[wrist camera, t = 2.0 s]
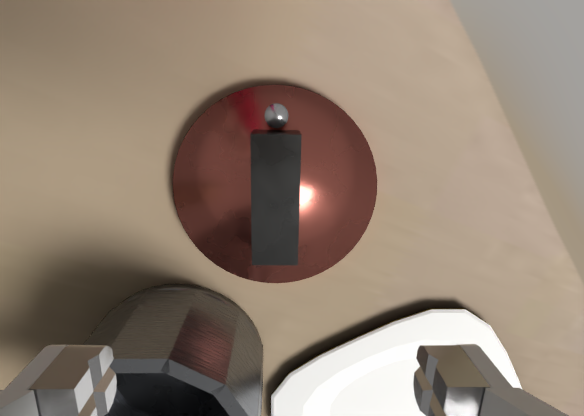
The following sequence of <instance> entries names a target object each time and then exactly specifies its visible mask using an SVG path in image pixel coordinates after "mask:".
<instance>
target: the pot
mask: <svg viewBox="0 0 584 416" xmlns="http://www.w3.org/2000/svg"><path fill="white" fill-rule="evenodd" d="M83 345H108V346H109V347H111V348H112V353H113V358H114V359H113V361H112V363H111V364H110V366H109V367H110V368H111V369H112V370H113V371H114V372H115V373H116V380H117V385H116V394H115V397H114V401H113V404H112V406H111V408H110V410H109V412H108V413H107V414H106V415H104V416H261V407H262V391H263V345H262V342H261V338H260V336H259V333H258V331H257V329H256V327H255V325H254V324H253V322H252V320H251V319H250V318H249V317H248V315H247V314H246V313H245V312H244V311H243V310H242V309H241V308H240V307H239V306H238V305H236V304H235V303H234V302H233V301H231V300H230V299H228V298H226V297H225V296H223V295H221V294H219V293H217V292H214V291H212V290H210V289H206V288H203V287H200V286H194V285H188V284H165V285H159V286H154V287H151V288H147V289H144V290H142V291H140V292H137V293H135V294H133V295H132V296H130V297H129V298H127V299H125V300H124V301H123V302H122V303H121V304H120V305H118V306H117V307H116V308H114V309H113V310H111V311H109V313H108V314H107V315H106V316H105V318H104V319H103V320H102V321H101V323H100V324H99V325H98V327H97V328H96V329H95V330H94V332H93V333H92V334H91V335H90V337H89V338H88V339H87V340H86V342H85V343H84V344H83Z"/></svg>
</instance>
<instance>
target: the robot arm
mask: <svg viewBox="0 0 584 416" xmlns="http://www.w3.org/2000/svg"><path fill="white" fill-rule="evenodd" d="M113 359H114V358H113V353H112V348H111V347H109V346H108V345H49V346H46V347H44V348H43V349H42V351H41V352H40V353H39V354H38V355H37V356H36V357H35V358H34V359H33V360H32V361H31V362H30V363H29V364H28V365H27V366H26V367H25V368H24V369H23V370H22V371H21V373H20V374H19V375H18V376H17V377H16V378H15V379H14V380H13V381H12V382H11V383H10V384H9V385H8V386H7V387H6V388H5V389H4V390H0V416H104V415H106V414H107V413H108V412H109V410H110V408H111V406H112V404H113V401H114V397H115V394H116V385H117V380H116V373H115V372H114V371H113V370H112V369H111V368H110V367H109V366H110V364H111V363H112V361H113ZM416 359H417V361H418V363H419V365H420V367H419V368H418V369H417V370H416V371H415V372H414V381H413V386H414V395H415V399H416V402H417V405H418V407H419V410H420V411H421V412H422V413H423V414H425V415H426V416H568V415H567V414H565V413H563V412H561V411H559V410H558V409H556V408H554V407H552V406H551V405H549V404H547V403H545V402H543V401H542V400H540V399H538V398H536V397H535V396H533V395H531V394H529V393H528V392H526V391H524V390H522V389H520V388H513V387H512V386H511V385H510V383H509V382H508V381H507V380H506V378H505V377H504V376H503V375H502V373H501V372H500V371H499V370H498V368H497V367H496V366H495V365H494V364H493V362H492V361H491V360H490V359H489V357H488V356H487V355H486V354H485V352H484V351H483V350H482V349H481V347H480V346H478V345H476V344H457V345H420V346H419V348H418V350H417V357H416Z"/></svg>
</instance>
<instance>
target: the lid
mask: <svg viewBox="0 0 584 416" xmlns="http://www.w3.org/2000/svg"><path fill="white" fill-rule="evenodd" d="M173 193H174V200H175V205H176V209H177V212H178V216H179V218H180V221H181V223H182V225H183V228H184V229H185V231H186V233H187V234H188V236H189V238H190V239H191V240H192V242H193V243H194V244H195V245H196V247H197V248H198V249H199V250H200V251H201V252H202V253H203V254H204V255H205V256H206V257H207V258H208V259H210V260H211V261H212V262H213V263H215V264H216V265H217V266H219V267H221V268H223V269H224V270H226V271H228V272H230V273H232V274H234V275H237V276H239V277H242V278H245V279H249V280H253V281H258V282H266V283H286V282H293V281H298V280H302V279H306V278H309V277H312V276H314V275H317V274H319V273H321V272H323V271H325V270H327V269H328V268H330V267H332V266H334V265H335V264H336V263H337V262H339V261H340V260H341V259H343V258H344V257H345V256H346V255H347V254H348V253H349V252H350V251H351V250H352V249H353V248H354V246H355V245H356V244H357V243H358V241H359V240H360V238H361V237H362V235H363V234H364V232H365V230H366V228H367V226H368V224H369V222H370V219H371V217H372V213H373V210H374V207H375V201H376V195H377V175H376V167H375V163H374V159H373V155H372V152H371V150H370V147H369V145H368V142H367V140H366V139H365V137H364V135H363V133H362V132H361V130H360V129H359V127H358V126H357V125H356V124H355V122H354V121H353V120H352V119H351V118H350V117H349V116H348V115H347V114H346V113H345V112H344V111H343V110H342V109H341V108H339V107H338V106H337V105H335V104H334V103H333V102H331V101H330V100H328V99H326V98H324V97H322V96H321V95H319V94H316V93H314V92H311V91H308V90H306V89H302V88H298V87H293V86H285V85H262V86H256V87H251V88H247V89H244V90H241V91H238V92H235V93H233V94H231V95H229V96H227V97H225V98H223V99H221V100H219V101H218V102H217V103H215V104H214V105H212V106H211V107H209V108H208V109H207V110H206V111H205V112H204V113H203V114H202V115H201V116H200V117H199V118H198V119H197V120H196V122H195V123H194V124H193V125H192V126H191V128H190V129H189V131H188V133H187V134H186V136H185V138H184V139H183V142H182V144H181V146H180V149H179V151H178V154H177V158H176V162H175V166H174V174H173Z"/></svg>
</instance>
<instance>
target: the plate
mask: <svg viewBox="0 0 584 416" xmlns="http://www.w3.org/2000/svg"><path fill="white" fill-rule="evenodd" d="M457 344H476V345H478V346H480V347H481V349H482V350H483V351H484V352H485V354H486V355H487V356H488V357H489V359H490V360H491V361H492V362H493V364H494V365H495V366H496V367H497V368H498V370H499V371H500V372H501V373H502V375H503V376H504V377H505V378H506V380H507V381H508V382H509V383H510V385H511V386H512V387H513V388H520V389H522V387H521V385H520V382H519V379H518V377H517V375H516V373H515V370H514V368H513V366H512V363H511V361H510V359H509V356H508V354H507V352H506V350H505V349H504V347H503V345H502V344H501V342H500V340H499V339H498V337H497V336H496V334H495V332H494V331H493V329H492V328H491V326H490V325H489V324H488V323H486V322H485V321H483V320H482V319H480V318H478V317H477V316H475V315H474V314H472V313H471V312H469V311H468V310H466V309H465V308H430V309H427V310H424V311H421V312H418V313H415V314H412V315H409V316H406V317H403V318H400V319H397V320H394V321H391V322H389V323H387V324H384V325H382V326H380V327H378V328H375V329H373V330H371V331H369V332H366V333H364V334H362V335H359V336H357V337H355V338H353V339H351V340H349V341H346V342H344V343H342V344H340V345H338V346H336V347H334V348H331V349H329V350H327V351H325V352H323V353H321V354H319V355H317V356H316V357H314V358H312V359H311V360H309V361H307V362H306V363H304V364H302V365H301V366H299V367H297V368H296V369H294V370H292V371H291V372H289V373H288V374H287V376H286V377H285V378H284V379H283V381H282V382H281V383H280V384H279V386H278V387H277V388H276V389H275V391H274V392H273V393H272V394H271V416H426V415H425V414H423V413H422V412H421V411H420V410H419V407H418V405H417V402H416V399H415V395H414V386H413V381H414V372H415V371H416V370H417V369H418V368H419V367H420V365H419V363H418V361H417V359H416V357H417V350H418V348H419V346H420V345H457Z"/></svg>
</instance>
